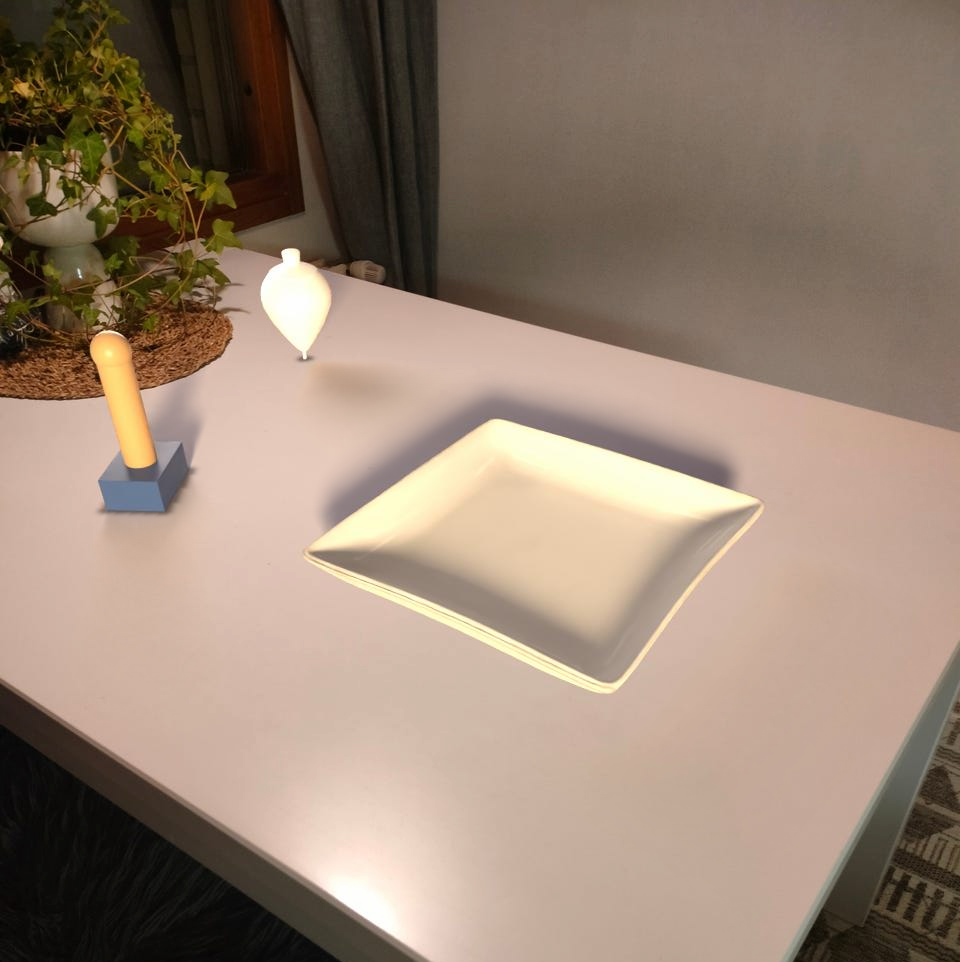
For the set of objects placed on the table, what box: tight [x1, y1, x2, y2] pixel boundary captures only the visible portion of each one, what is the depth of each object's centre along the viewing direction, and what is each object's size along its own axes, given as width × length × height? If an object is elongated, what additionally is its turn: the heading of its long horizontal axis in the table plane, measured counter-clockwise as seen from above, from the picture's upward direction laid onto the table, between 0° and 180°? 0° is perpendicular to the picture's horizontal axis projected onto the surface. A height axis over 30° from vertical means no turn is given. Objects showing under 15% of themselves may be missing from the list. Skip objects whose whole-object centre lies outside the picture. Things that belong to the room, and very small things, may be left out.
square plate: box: [301, 417, 766, 694], centre depth 73 cm, size 27×27×4 cm
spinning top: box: [260, 247, 333, 360], centre depth 101 cm, size 8×8×12 cm
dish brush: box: [89, 330, 189, 512], centre depth 78 cm, size 5×7×15 cm
